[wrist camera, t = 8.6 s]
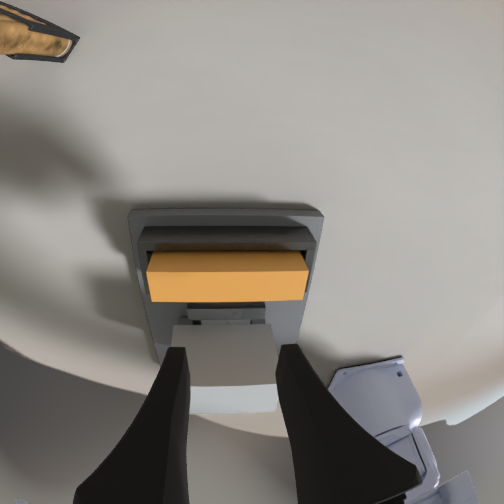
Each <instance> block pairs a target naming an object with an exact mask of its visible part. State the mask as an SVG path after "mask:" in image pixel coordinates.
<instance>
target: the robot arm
mask: <svg viewBox="0 0 504 504" xmlns="http://www.w3.org/2000/svg"><path fill="white" fill-rule="evenodd" d="M404 361H405V358H404V357H401V358H397V359H392V360H388V361H383V362H378V363H373V364H368V365H363V366H357V367H351V368H345V369H340V370H338V371H337V372H336V374H335V376H334V378H333V380H332V382H331V384H330V386H329V388H328V389H327V388H326V386H325V385H324V384H323V382H322V381H321V380H320V378H319V377H318V375H317V374H316V372H315V371H314V369H313V368H312V366H311V365H310V363H309V362H308V360H307V359H306V357H305V355H304V354H303V352H302V350H301V349H300V347H299V345H298V344H283V345H281V349H280V354H279V358H278V363H277V367H276V372H275V377H276V385H277V392H278V398H279V402H280V406H281V409H282V413H283V417H284V421H285V425H286V429H287V432H288V436H289V440H290V444H291V450H292V456H293V463H294V470H295V479H296V488H297V498H298V504H480V502H479V499H478V497H477V494H476V491H475V488H474V485H473V483H472V480H471V477H470V475H469V472H468V470H466V471H464V472H462V473H460V474H459V475H457V476H455V477H454V478H452V479H450V480H448V481H447V482H444V483H442V484H440V485H438V483H439V478H440V474H439V471H438V469H437V463H436V460H435V458H434V455H433V453H432V450H431V448H430V445H429V443H428V441H427V438H426V436H425V434H424V432H423V430H422V428H419V427H418V428H417V426H418V424H419V423H420V421H421V418H422V403H421V399H420V397H419V395H418V393H417V391H416V389H415V387H414V385H413V383H412V381H411V379H410V377H409V375H408V373H407V371H406V369H405V367H404V365H403V363H404ZM190 400H191V383H190V371H189V365H188V360H187V354H186V348H185V347H169V348H167V351H166V354H165V357H164V360H163V363H162V365H161V368H160V370H159V372H158V375H157V377H156V379H155V381H154V383H153V385H152V387H151V390H150V392H149V394H148V396H147V398H146V400H145V401H144V403H143V405H142V407H141V408H140V410H139V412H138V414H137V415H136V417H135V419H134V421H133V422H132V424H131V425H130V427H129V428H128V430H127V431H126V433H125V434H124V436H123V437H122V438H121V440H120V441H119V442H118V444H117V445H116V447H115V448H114V449H113V450H112V452H111V453H110V454H109V455H108V456H107V458H106V459H105V460H104V461H103V462H102V463H101V464H100V465H99V467H98V468H97V469H96V470H95V471H94V472H93V473H92V474H91V475H90V476H89V477H88V478H87V479H86V480H85V481H84V482H83V483H82V484H80V485H79V486H78V487H77V489H76V492H75V495H74V500H73V504H189V494H188V481H187V463H186V444H187V432H188V421H189V410H190ZM422 477H423V478H422ZM437 485H438V486H437ZM15 504H30V503H28V502H26V501H23V500H21V499H18V498H16V502H15Z"/></svg>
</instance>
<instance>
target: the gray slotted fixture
mask: <svg viewBox="0 0 504 504" xmlns="http://www.w3.org/2000/svg"><path fill="white" fill-rule="evenodd" d="M316 245H317V242H316V240H315V238H314V237H313V235H312V233H311V232H310V230H309V228H308V227H301V226H144V228H143V230H142V232H141V234H140V236H139V238H138V241H137V249H138V255H139V261H140V267H141V272H142V278H143V283H144V288H145V293H146V294H150V290H149V284H148V279H147V273H146V271H147V268H148V265H149V262H150V259H151V257H152V254H153V251H164V250H296V251H300V253H301V255H302V257H303V259H304V261H305V263H306V266H307V268H308V270H309V273H308V278H307V282H306V287H305V292H307V288H308V284H309V279H310V274H311V270H312V265H313V260H314V255H315V250H316ZM265 311H266V306H265V302H264V301H255V302H188V304H187V313H188V320H201V325H249V324H250V322H251V319H264V318H265Z"/></svg>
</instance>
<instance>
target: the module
mask: <svg viewBox="0 0 504 504" xmlns="http://www.w3.org/2000/svg"><path fill="white" fill-rule="evenodd" d="M171 347H185V348H186V354H187V360H188V365H189V371H190V383H191V400H190V410H189V414H240V413H258V412H270V411H275V410H276V407H277V403H278V400H279V398H278V392H277V385H276V377H275V372H276V367H277V363H278V355H277V351H276V346H275V341H274V337H273V332H272V327H271V324H266V322H265V318H264V319H251V323H250V324H249V325H193V320H188V317H179V324H178V325H174V326H173V334H172V342H171Z"/></svg>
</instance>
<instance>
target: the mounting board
mask: <svg viewBox="0 0 504 504" xmlns="http://www.w3.org/2000/svg"><path fill="white" fill-rule="evenodd" d="M323 221H324V216H323V215H322V213H321V212H320V211H319V210H291V209H247V208H179V209H135V210H131V212H130V213H129V215H128V222H129V229H130V235H131V242H132V248H133V254H134V259H135V265H136V270H137V275H138V280H139V285H140V289H141V294H142V299H143V303H144V307H145V311H146V316H147V320H148V324H149V328H150V331H151V335H152V339H153V342H154V346H155V350H156V353H157V357H158V360H159V363H160V367H161V365H162V363H163V360H164V357H165V354H166V351H167V348H169V347H171V342H172V334H173V326H174V325H178V324H179V317H188V313H187V304H188V302H152V300H151V295H150V294H146V293H145V288H144V283H143V278H142V272H141V267H140V261H139V255H138V249H137V241H138V238H139V236H140V234H141V232H142V230H143V228H144V226H301V227H308V228H309V230H310V232H311V233H312V235H313V237H314V238H315V240H316V242H317V245H316V250H315V255H314V260H313V265H312V270H311V274H310V279H309V284H308V288H307V292H304V296H303V300H286V301H264V302H265V306H266V311H265V322H266V324H271V327H272V332H273V337H274V341H275V346H276V351H277V355H278V358H279V354H280V349H281V345H283V344H296V342H297V338H298V334H299V330H300V326H301V322H302V318H303V314H304V310H305V306H306V301H307V297H308V293H309V289H310V284H311V280H312V275H313V271H314V266H315V261H316V256H317V252H318V247H319V242H320V237H321V231H322V226H323ZM164 251H296V250H164ZM250 323H251V322H250ZM193 325H201V320H193Z"/></svg>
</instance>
